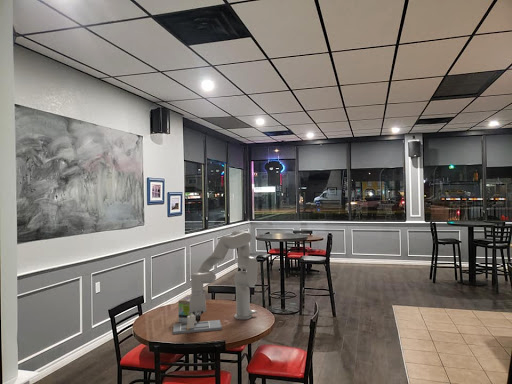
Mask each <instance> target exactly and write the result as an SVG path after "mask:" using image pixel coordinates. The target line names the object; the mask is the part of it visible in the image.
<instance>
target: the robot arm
mask: <svg viewBox="0 0 512 384" xmlns="http://www.w3.org/2000/svg"><path fill="white" fill-rule="evenodd" d="M251 240H252V234H251V233H250V232H249V231H247V230H246V231H245V230H233V231H232V232H231V235H222V236H221V237H220V238H219V240H218V242H217V244H216V245H215V248H214V250H213V252H212V253H211V255H210V256H208V257H207V258H206V259H205V260H204V261H203V262H202V263H201V265H200V267H199V269H198V272H193V273H191V274H190V285H191V287H190V288H191V294H189V295H190V306H189V307H190V311H189V313H192V314H194V315H195V316H196V321H197V323H198V322H201V315H203V314H204V313H206V312H207V303H206V301H207V300H206V295H205V293H207V290H205V289H204V284H205V285H206V284H213V283H215V281H216V279H217V275H216V274H215V272H213V271H211V269H212V268H213V267H214V266H215V265H217V264H219V263H221V262H223V261H224V260H225V257H226V256H227V254H228V252H229V250H236V249H237V260H236V261H237V263H236V265H237V267H238V268H239V269H241V270H238V271H237V272H236V273H235V275H234V278H233V280H234V284H235V299H236V300H235V302H236V303H235V304H236V306H235V307H236V308H235V309H236V313H235V314H234V315H233V316H234V318H235V319H236V320H249V319H251V318H253V314H258V311H257V310H255V309H251V297H250V296H251V295H250V294H251V293H250V292H251V291H250V290H251V289H250V288H253V287H255V285H256V284H257V281H258V269H259V268H258V267H259V266H258V265H259V263H258V260H257V259H256V257H254V256H251V248H250V247H251V246H250V242H251ZM196 311H199V314H198V315H197V312H196Z"/></svg>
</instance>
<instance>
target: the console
mask: <svg viewBox="0 0 512 384" xmlns="http://www.w3.org/2000/svg"><path fill="white" fill-rule="evenodd" d="M222 329H223V326H222V323H221V319H217V320H216V319H214V320H205V321H203V320H202V321H199V322H198V323H197V324H194V328H190V329H188V323H182V322H178V323H174V324H173V328H172V335H179V334H189V333H190V334H191V333H201V332H202V333H203V332H211V331H212V332H213V331H221V330H222Z"/></svg>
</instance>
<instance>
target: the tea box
mask: <svg viewBox="0 0 512 384" xmlns="http://www.w3.org/2000/svg"><path fill="white" fill-rule="evenodd" d="M190 295H191V294H189V295H188V294H187V295H185V296H184V297H182V298H181V299H179V300H178V323H188V322H187V316H190V315H191V313H189V311H190V307H189V306H190ZM198 314H199V311H197V315H198Z"/></svg>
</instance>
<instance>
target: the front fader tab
mask: <svg viewBox="0 0 512 384" xmlns="http://www.w3.org/2000/svg"><path fill="white" fill-rule="evenodd" d="M187 322H188V329H190V328H194V315H192V316H191V315H190V316H187Z"/></svg>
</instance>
